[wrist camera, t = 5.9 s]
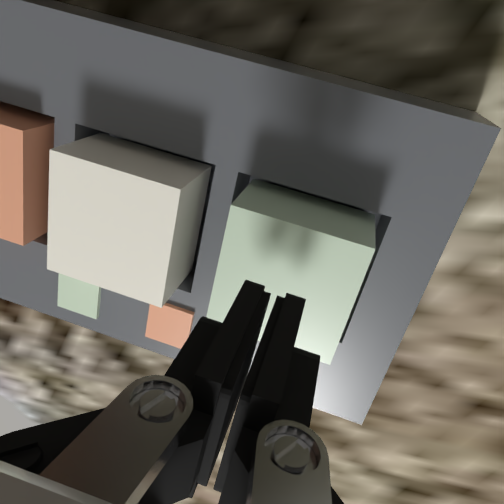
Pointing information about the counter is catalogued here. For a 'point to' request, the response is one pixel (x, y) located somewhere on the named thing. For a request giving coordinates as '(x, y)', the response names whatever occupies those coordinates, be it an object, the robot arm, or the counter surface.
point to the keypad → (243, 170)
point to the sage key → (295, 259)
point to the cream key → (124, 216)
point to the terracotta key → (24, 172)
